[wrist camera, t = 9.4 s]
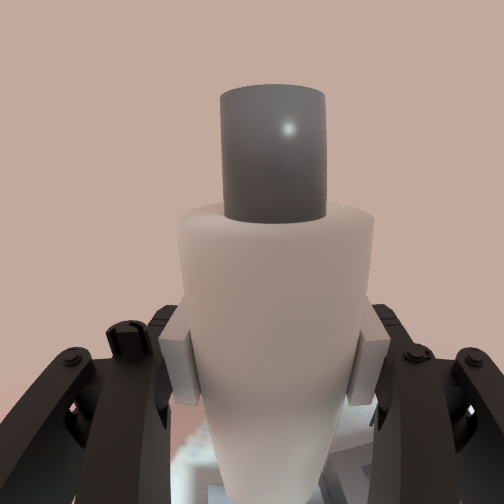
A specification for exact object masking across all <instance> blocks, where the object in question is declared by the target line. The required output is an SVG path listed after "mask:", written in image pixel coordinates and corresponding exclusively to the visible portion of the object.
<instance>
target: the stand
mask: <svg viewBox="0 0 504 504" xmlns="http://www.w3.org/2000/svg"><path fill="white" fill-rule="evenodd" d="M207 486H208V504H234V503H233V502H232V501H231V500H230V499H229V497H228V495H227V493H226V491H225V487H224V485H207ZM306 504H324V501H323V497H322V494H321V491H320V487H319V484H318V483H317V486H316V488H315V491H314V493H313V495H312V497H311V498H310V499H309V501H308V502H307V503H306Z"/></svg>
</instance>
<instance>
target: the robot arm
mask: <svg viewBox="0 0 504 504" xmlns="http://www.w3.org/2000/svg"><path fill="white" fill-rule="evenodd" d="M106 336H107V339H108V342H109V345H110V348H111V351H112V354H113V356H112V358H110V359H94V360H92V357H91V355H90V353H89V351H88V350H87V349H85V348H82V347H72V348H68V349H66V350H64V351H62V352H61V353H60V354H59V355H57V356H56V358H55V359H54V360H53V361H52V362H51V363H50V364H49V365H48V367H47V368H46V369H45V370H44V371H43V372H42V373H41V375H40V376H39V377H38V378H37V379H36V380H35V382H34V383H33V384H32V385H31V386H30V388H29V389H28V390H27V391H26V392H25V394H24V395H23V396H22V397H21V398H20V400H19V401H18V402H17V403H16V404H15V406H14V407H13V408H12V409H11V411H10V412H9V413H8V414H7V416H6V417H5V418H4V420H3V421H2V422H1V424H0V504H72V501H73V499H74V497H75V495H76V497H75V503H74V504H171V488H170V426H171V410H170V405H169V402H168V401H169V399H170V395H171V393H173V396H174V400H175V403H183V404H190V405H197V404H198V401H199V397H200V394H201V389H200V384H199V379H198V373H197V368H196V363H195V357H194V351H193V346H192V340H191V334H190V327H189V321H188V315H187V308H186V301H185V295H184V297H183V298H182V300H181V302H180V303H179V305H178V306H176V305H166V306H164V307H163V308H161V309H159V310H158V311H157V312H156V313H155V315H154V316H153V318H152V320H151V321H150V322H149V323H148V326H146V325H145V324H144V323H142V322H140V321H134V320H129V321H122V322H119V323H117V324H115V325H113V326H111V327H110V328H109V329H108V330H107V331H106ZM346 394H347V399H348V403H349V406H358V405H367V404H371V402H372V400H373V397H374V394H376V397H377V400H378V404H377V407H376V409H375V412H374V414H373V417H372V419H371V422H370V425H369V426H373V424H374V441H373V455H372V467H371V476H370V485H369V493H368V500H367V504H460V500H461V503H462V504H504V375H503V374H502V373H501V371H500V370H499V369H498V367H497V366H496V365H495V363H494V362H493V361H492V360H491V358H490V357H489V356H488V355H487V354H486V353H485V352H483V351H481V350H480V349H477V348H472V347H469V348H463V349H461V350H460V351H459V352H458V353H457V356H456V358H455V360H446V359H436V358H435V356H434V355H433V353H432V351H431V350H430V349H428V348H427V347H425V346H423V345H421V344H416V343H413V341H412V339H411V338H410V336H409V335H408V333H407V331H406V330H405V328H404V327H403V325H401V322H400V321H399V319H397V316H396V315H395V313H394V312H393V310H391V309H390V308H388V307H387V306H386V305H384V304H376V305H371V303H370V302H369V300H368V298H367V296H366V298H365V304H364V310H363V316H362V322H361V328H360V333H359V338H358V344H357V348H356V353H355V358H354V363H353V367H352V371H351V376H350V380H349V384H348V388H347V392H346ZM73 403H74V404H75V406H76V408H75V410H74V411H73V412H71V411H70V409H69V408H70V407H71V405H72V404H73ZM470 405H472V407H473V409H474V411H475V412H474V413H473V414H472V415H471V414H470V412H469V411H468V409H469V407H470Z"/></svg>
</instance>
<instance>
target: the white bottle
mask: <svg viewBox="0 0 504 504" xmlns="http://www.w3.org/2000/svg"><path fill="white" fill-rule="evenodd" d="M325 110H326V107H325V95H324V94H323V93H322V92H320V91H318V90H316V89H312V88H308V87H303V86H296V85H284V84H266V85H254V86H247V87H241V88H237V89H233V90H230V91H228V92H225V93H223V94H222V95H221V96H220V115H221V148H222V172H223V173H222V175H223V196H224V203H218V204H212V205H207V206H203V207H199V208H195V209H193V210H190V211H187V212H185V213H183V214H182V215H180V216H179V217H178V218H177V220H176V223H177V234H178V244H179V253H180V262H181V270H182V278H183V286H184V293H185V301H186V308H187V315H188V321H189V327H190V334H191V340H192V346H193V351H194V357H195V363H196V368H197V373H198V379H199V384H200V389H201V394H202V398H203V403H204V407H205V412H206V417H207V421H208V426H209V430H210V434H211V438H212V442H213V446H214V450H215V454H216V458H217V462H218V466H219V470H220V473H221V477H222V480H223V484H224V487H225V491H226V493H227V495H228V497H229V499H230V500H231V501H232V502H233V503H234V504H306V503H307V502H308V501H309V499H310V498H311V497H312V495H313V493H314V491H315V488H316V486H317V483H318V481H319V478H320V475H321V473H322V470H323V467H324V464H325V462H326V459H327V456H328V453H329V450H330V447H331V444H332V441H333V438H334V434H335V431H336V428H337V424H338V421H339V418H340V414H341V411H342V407H343V403H344V400H345V396H346V392H347V388H348V384H349V380H350V376H351V371H352V367H353V363H354V358H355V353H356V348H357V344H358V338H359V333H360V328H361V322H362V316H363V310H364V304H365V298H366V290H367V283H368V276H369V268H370V258H371V249H372V238H373V226H374V225H373V224H374V219H373V217H372V216H371V215H370V214H369V213H367V212H365V211H363V210H360V209H358V208H354V207H351V206H347V205H342V204H337V203H330V202H327V201H326V200H327V141H326V140H327V138H326V111H325Z"/></svg>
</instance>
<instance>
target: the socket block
mask: <svg viewBox="0 0 504 504" xmlns="http://www.w3.org/2000/svg"><path fill="white" fill-rule="evenodd" d="M372 455H373V443H370V444H366V445H363V446H359V447H356V448H352V449H348V450H345V451H341V452H337V453H332V454H330V456H329V459H328V461H327V464H326V467H325V470H324V473H323V477H324V480H325V483H326V486H327V489H328V492H329V495H330V498H331V501H332V504H367V500H368V493H369V485H370V476H371V467H372ZM460 504H462V503H461V500H460Z"/></svg>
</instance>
